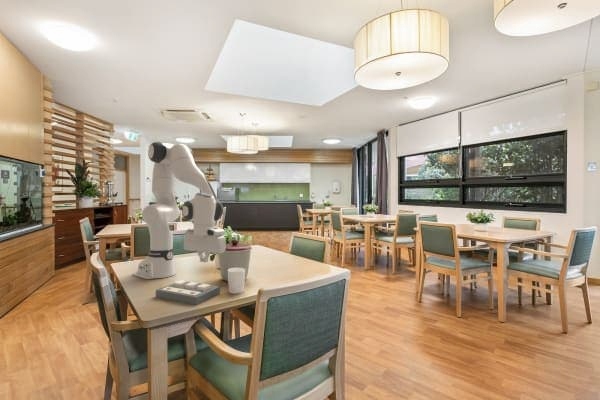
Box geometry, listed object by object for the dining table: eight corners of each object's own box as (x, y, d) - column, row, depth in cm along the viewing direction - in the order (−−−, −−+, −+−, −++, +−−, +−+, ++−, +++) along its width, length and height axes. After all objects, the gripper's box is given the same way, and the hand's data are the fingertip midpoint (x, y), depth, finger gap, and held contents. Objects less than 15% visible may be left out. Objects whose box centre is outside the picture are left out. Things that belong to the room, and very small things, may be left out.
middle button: (184, 290, 129) (185, 284, 129) (191, 287, 133) (191, 281, 133) (192, 291, 128) (192, 285, 128) (198, 288, 131) (198, 283, 131)
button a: (173, 288, 132) (173, 282, 131) (180, 285, 135) (180, 280, 135) (180, 289, 130) (180, 283, 130) (187, 286, 134) (187, 281, 134)
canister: (243, 285, 143) (244, 242, 143) (209, 282, 147) (210, 240, 147) (256, 275, 161) (257, 237, 161) (226, 273, 165) (226, 236, 164)
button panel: (155, 297, 125) (155, 289, 125) (181, 286, 139) (181, 279, 139) (196, 304, 117) (196, 296, 117) (219, 293, 131) (220, 285, 131)
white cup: (246, 288, 139) (246, 267, 139) (243, 294, 131) (243, 272, 131) (229, 288, 138) (229, 267, 138) (225, 294, 131) (226, 271, 130)
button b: (196, 292, 127) (196, 286, 127) (203, 289, 130) (203, 283, 130) (204, 293, 125) (204, 287, 125) (210, 290, 129) (210, 284, 129)
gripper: (180, 229, 128) (180, 260, 129) (218, 232, 121) (218, 265, 121) (190, 228, 134) (190, 258, 134) (227, 230, 127) (227, 262, 127)
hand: (203, 261), depth 128 cm, fingers closed
